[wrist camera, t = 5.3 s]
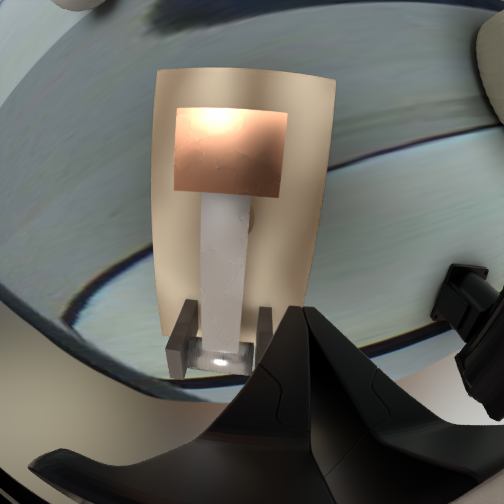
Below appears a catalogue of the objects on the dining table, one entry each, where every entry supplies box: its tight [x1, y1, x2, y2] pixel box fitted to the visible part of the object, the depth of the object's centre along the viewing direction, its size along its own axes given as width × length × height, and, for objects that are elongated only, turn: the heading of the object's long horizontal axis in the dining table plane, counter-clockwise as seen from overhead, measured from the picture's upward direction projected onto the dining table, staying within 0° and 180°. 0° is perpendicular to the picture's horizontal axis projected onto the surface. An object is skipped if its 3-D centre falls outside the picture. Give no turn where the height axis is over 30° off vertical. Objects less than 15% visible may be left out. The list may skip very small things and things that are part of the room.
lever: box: [174, 108, 288, 375], centre depth 15 cm, size 5×17×2 cm, turn 175°
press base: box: [151, 68, 336, 380], centre depth 17 cm, size 12×22×8 cm, turn 175°
